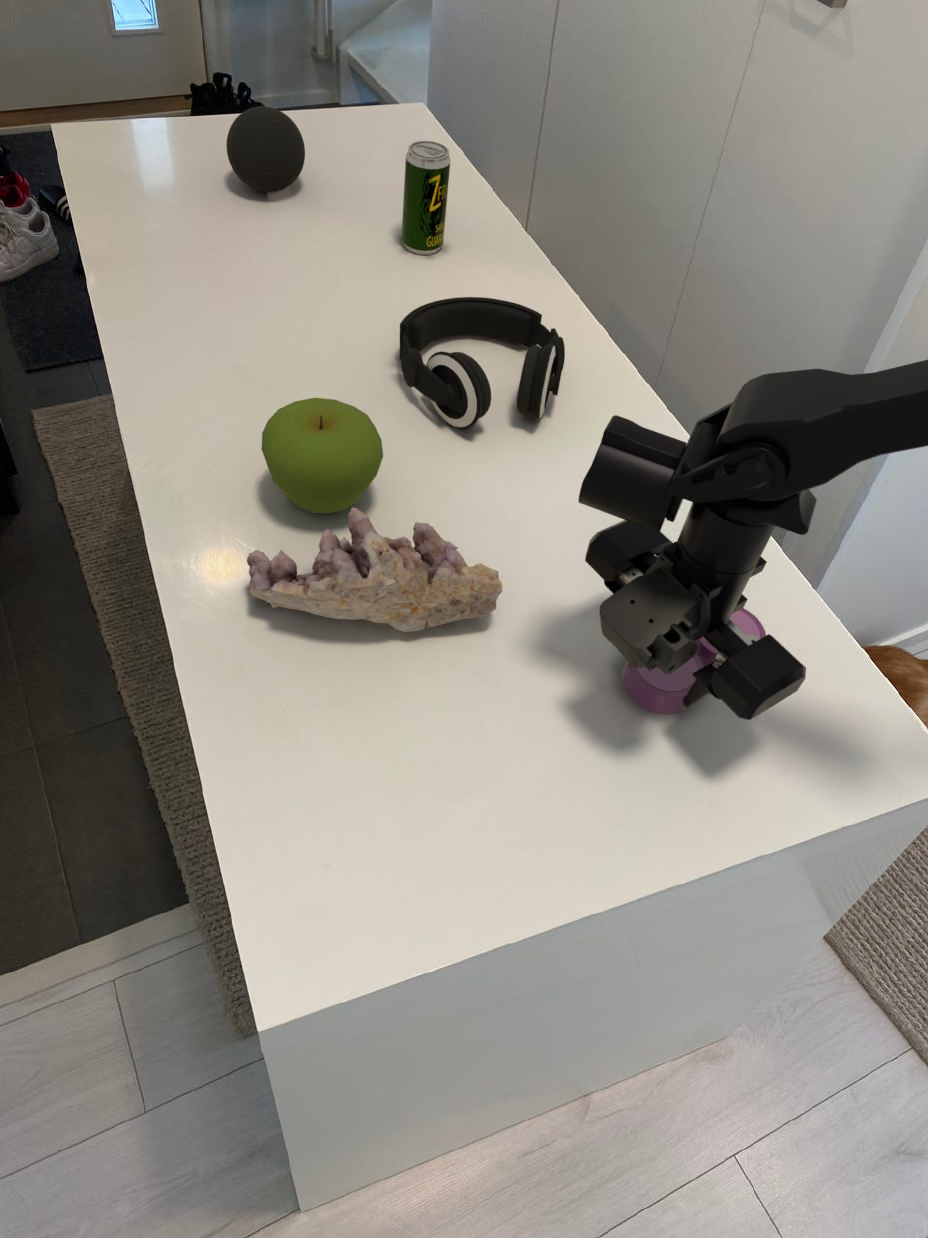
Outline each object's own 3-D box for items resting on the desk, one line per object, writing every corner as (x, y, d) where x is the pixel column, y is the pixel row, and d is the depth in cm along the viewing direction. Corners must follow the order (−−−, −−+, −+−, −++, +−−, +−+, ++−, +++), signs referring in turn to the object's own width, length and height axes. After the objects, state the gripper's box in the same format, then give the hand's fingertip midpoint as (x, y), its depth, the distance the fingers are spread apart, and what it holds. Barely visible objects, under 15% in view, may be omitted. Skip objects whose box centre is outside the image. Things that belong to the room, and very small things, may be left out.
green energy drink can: (393, 246, 119) (397, 150, 110) (415, 229, 122) (421, 135, 113) (429, 260, 118) (436, 164, 109) (450, 243, 121) (459, 149, 112)
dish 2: (772, 657, 82) (782, 640, 80) (720, 688, 79) (730, 670, 77) (721, 609, 85) (729, 591, 83) (669, 636, 82) (677, 618, 80)
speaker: (214, 187, 124) (206, 108, 117) (264, 163, 130) (259, 86, 122) (272, 214, 121) (267, 134, 114) (321, 188, 127) (320, 110, 119)
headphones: (432, 378, 89) (380, 286, 102) (428, 448, 94) (379, 352, 107) (603, 362, 93) (531, 276, 107) (589, 430, 99) (523, 340, 112)
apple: (402, 502, 89) (408, 419, 82) (319, 555, 84) (317, 471, 76) (326, 445, 94) (325, 361, 86) (242, 492, 88) (233, 406, 81)
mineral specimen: (252, 631, 71) (258, 499, 70) (241, 616, 80) (247, 500, 79) (504, 640, 77) (513, 519, 76) (466, 625, 87) (474, 517, 86)
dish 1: (711, 693, 79) (720, 676, 77) (656, 726, 76) (664, 709, 74) (660, 641, 82) (668, 623, 80) (605, 671, 79) (612, 654, 77)
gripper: (550, 501, 67) (518, 637, 79) (733, 685, 58) (666, 806, 70) (663, 453, 72) (617, 588, 84) (849, 616, 63) (767, 741, 75)
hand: (661, 675), depth 78 cm, fingers closed on dish 1, 6 cm apart
